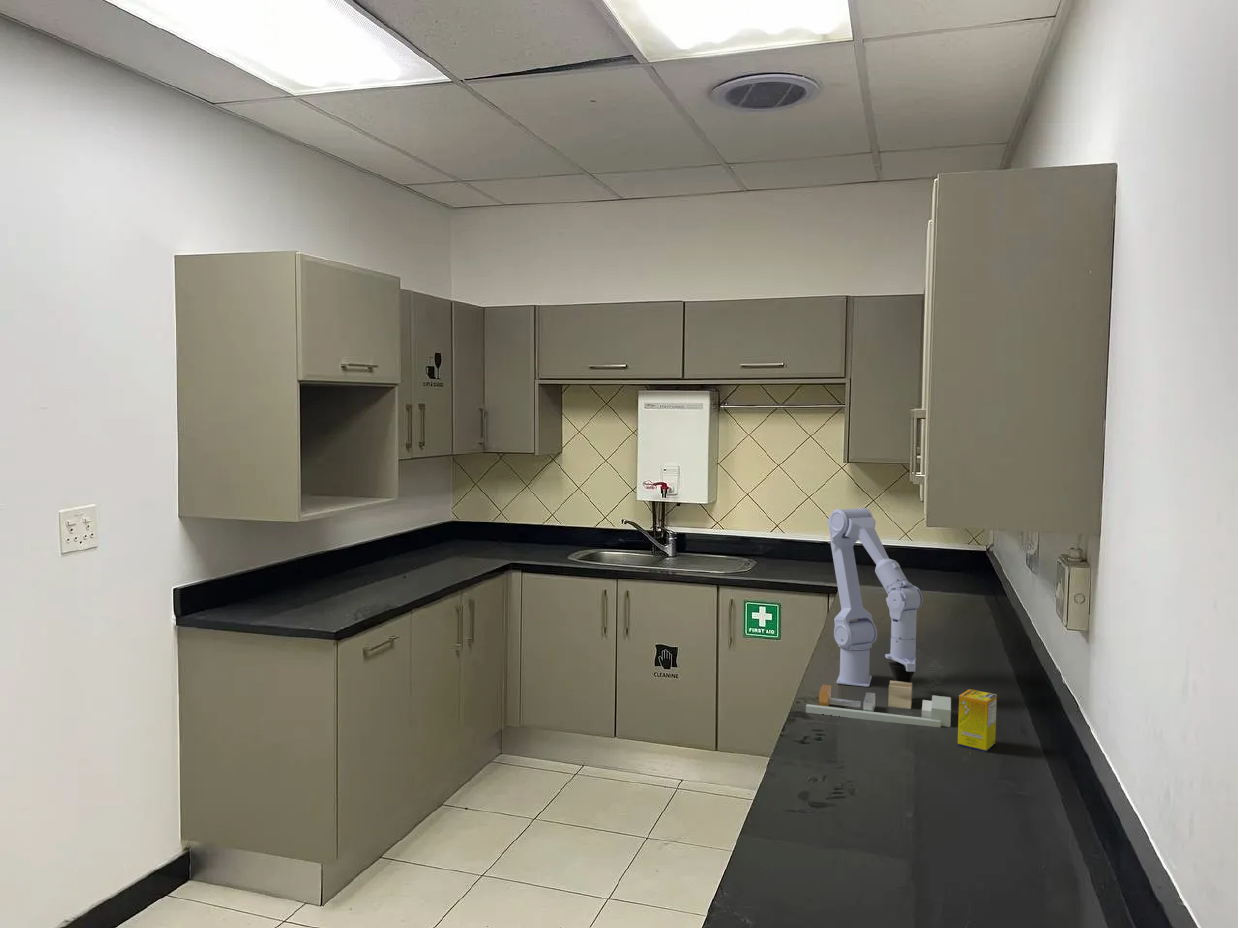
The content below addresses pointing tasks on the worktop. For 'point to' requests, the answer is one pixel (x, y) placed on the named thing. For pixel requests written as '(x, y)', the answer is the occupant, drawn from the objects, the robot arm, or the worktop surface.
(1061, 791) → the worktop surface
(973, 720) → the supplement box
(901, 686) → the maple block
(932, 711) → the vise
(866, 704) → the vise jaw
